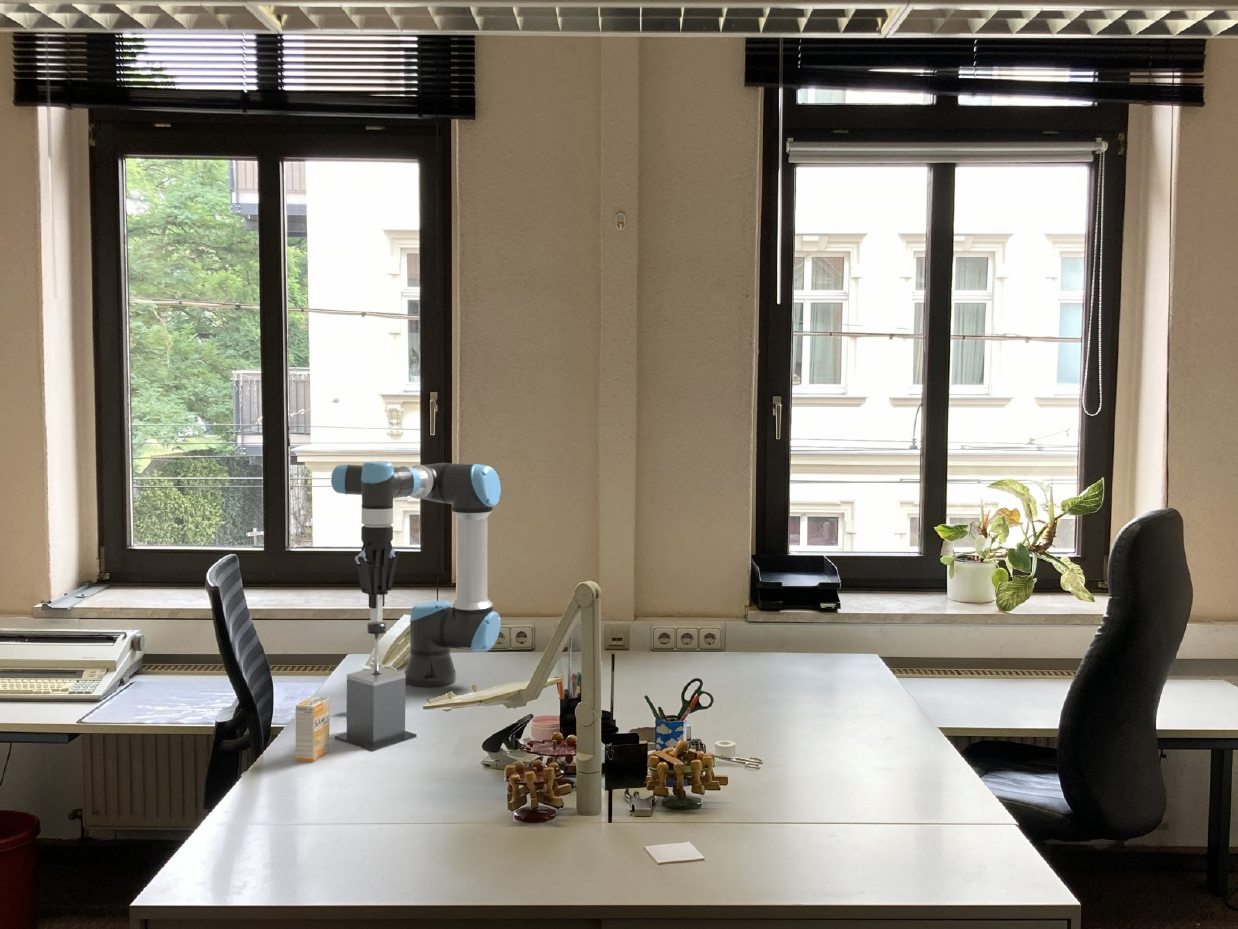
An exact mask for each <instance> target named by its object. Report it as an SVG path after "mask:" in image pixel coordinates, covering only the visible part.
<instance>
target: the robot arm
mask: <svg viewBox="0 0 1238 929" xmlns="http://www.w3.org/2000/svg"><path fill="white" fill-rule="evenodd" d="M330 481H331V482H330V483H331V486H332V489H333V490H334V492H336V493H337V494H344V495H357V496H359V495H360V496H361V524H362V526H361V529H360V530H361V534H360V539H361V541H362V546H361V551H360V553H359V554H358V555H353V557H352V560H353V561H354V563H355V564H356V569H357V573H358V580H359V585H360V590H361V593H363V594H366V595H367V596H368V607H369V609H370V622H383V616H384V613H383V612H384V611H383V607H385V598H386V597H385V596H387V595H388V593H389V591H391V590H392V588H393V582H394V577H395V573H396V572H395V571H396V568H397V561H398V560H399V557H400V555H401V552H400V551H398V550H396V549H394V548H393V545H392V541H393V540H394V527H393V526H392V524H393V523H394V499H399V498H406V497H411V498H412V499H416V500H417V499H418V500H425V501H426V500H427V501H431V502H435V503H441V504H450V505H451V512H452V514H454V515H455V516H456V520H457V521H456V524H457V528H456V529H457V532H456V535H457V538H456V539H457V543H456V544H457V545H456V546H457V548H456V550H457V553H456V554H457V556H456V558H457V561H456V562H457V565H456V567H457V569H456V570H457V599H456V600H454V602H453V603H452V604H451V602H450V601H448V600H435V601H434V600H433V601H427V602H422V603H418V604H415V605H414V606H412V608H411V611H410V620H409V622H410V624H409V625H410V626H409V627H410V630H409V631H410V632H409V634H410V636H409V640H410V641H409V642H410V645H409V646H410V648H409V649H410V650H409V653H410V654H409V658H408V661H407V665H406V669H405V670H404V672H403V673H405V674H406V682H405V684H407V685H409V686H413V687H420V688H434V687H436V688H437V687H442V686H447V685H451V684H454V682H456V680H457V671H456V669H455V666H454V663H453V662H454V661H453V659H452V656H451V649H458V650H463V651H470V652H487V651H489V650H491V649H492V648H493V647H494V645H495V644H496V642H497V640H498V637H499V635H500V632H501V624H502V622H501V619H502V618H501V617H500V614H499V613H498V612H496V611H494V610H493V608H494V603H493V602H492V601H491V600H490V599H489V598H488V517H489V515H491V514H492V513H493V511H494V510H493V507H495V506H497V504H498V503H499V502H500V497H501V494H502V492H501V490H502V487H501V482H500V478H499V475H498V473H497V472H496V470H495V469H494V468H493V467H492V466H489V465H485V464H479V463H451V462H450V463H449V462H439V463H431V464H415V465H412V466H398V467H397V466H395V467H394V465H393V462H391V461H384V460H383V461H375V460H374V461H366V462H364V463H363V464H362V465H360V464H348V463H347V464H338V465H337V466H335V467H334V468H333V470H332V472H331V479H330Z"/></svg>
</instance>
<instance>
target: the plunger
mask: <svg viewBox="0 0 1238 929" xmlns="http://www.w3.org/2000/svg"><path fill="white" fill-rule="evenodd" d="M386 625H387V623H386V622H383V621H381V622H375V621H370V622H368V623H367V629H366V630H367V631H366V632H367V634H370V635H371V634H372V635H374V639H373V640H374V642H373V643H374V644H373V646H374V648H373V649H374V653H373V656H374V657H373V658H374V659H373V660H374V662H373V665H374V666H373V668H374V675H378V667H379V654H380V653H379V651H380V649H379V648H380V646H379V641H380V640H379V638H380V637H379V636H380V635H381V634H385V633H386V631H387V627H386Z"/></svg>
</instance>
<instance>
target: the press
mask: <svg viewBox="0 0 1238 929" xmlns="http://www.w3.org/2000/svg"><path fill="white" fill-rule="evenodd" d="M405 682H406V674H405V673H404V672H401V671H397V670H393V669H390V668H385V667H383V666H378V675H374V667H371V668H366V669H363V670H359V671H355V672H352V673H347V674H346V732H345V733H339V734H337V735H334V739H335V740H338V741H341V742H344V743H347V744H349V745H353V746H355V747H359V748H362V749H364V750H368V751H369V752H373V751H377V750H381V749H384V748H386V747H391V746H393V745H396V744H398V743H402V742H406V741H408V740H411V739H414V738H417V733H414V732H410V731H407V730H406V683H405Z"/></svg>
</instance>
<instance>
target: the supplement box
mask: <svg viewBox="0 0 1238 929" xmlns="http://www.w3.org/2000/svg"><path fill="white" fill-rule="evenodd" d="M330 704H331V702H330V697H324V696H311V697H309V698H307V699H305V700H304V701H302V702H300V703H298V704H296V705H295V755H294V756H295V759H294V760H295V761H297V762H298V761H299V762H309V763H313V762H315V761H316V760H317V759H319V758H320V757H322V756H323V755H325V754H326V753H328V752H330Z"/></svg>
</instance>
